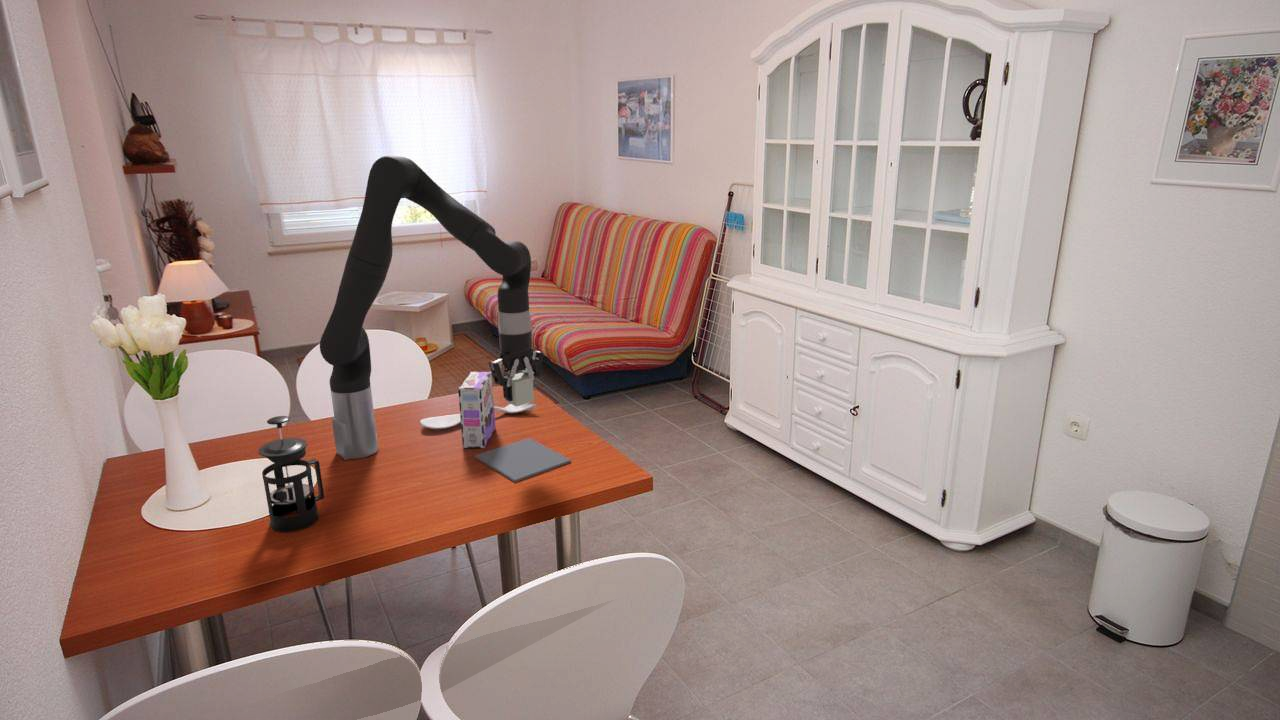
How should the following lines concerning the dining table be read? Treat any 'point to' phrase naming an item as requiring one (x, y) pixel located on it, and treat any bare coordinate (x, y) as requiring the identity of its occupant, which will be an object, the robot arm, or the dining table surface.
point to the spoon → (455, 419)
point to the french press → (291, 495)
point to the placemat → (522, 459)
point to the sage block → (522, 390)
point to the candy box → (476, 409)
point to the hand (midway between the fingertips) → (519, 397)
